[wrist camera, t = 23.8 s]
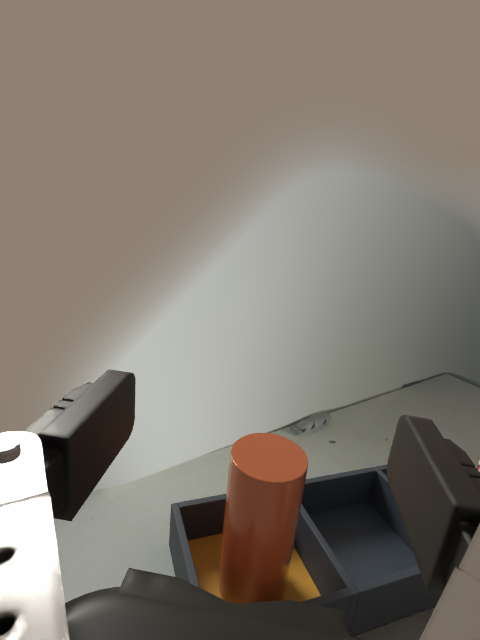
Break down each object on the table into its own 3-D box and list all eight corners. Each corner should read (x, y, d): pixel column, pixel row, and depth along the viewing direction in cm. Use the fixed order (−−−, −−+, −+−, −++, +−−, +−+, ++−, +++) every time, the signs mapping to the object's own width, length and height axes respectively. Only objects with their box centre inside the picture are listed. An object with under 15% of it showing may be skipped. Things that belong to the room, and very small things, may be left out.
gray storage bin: (199, 692, 24) (204, 642, 23) (168, 544, 34) (171, 503, 33) (539, 568, 35) (556, 530, 34) (442, 484, 45) (451, 452, 44)
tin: (229, 627, 27) (246, 488, 24) (209, 559, 32) (221, 437, 29) (298, 606, 29) (323, 475, 26) (269, 545, 34) (286, 429, 30)
